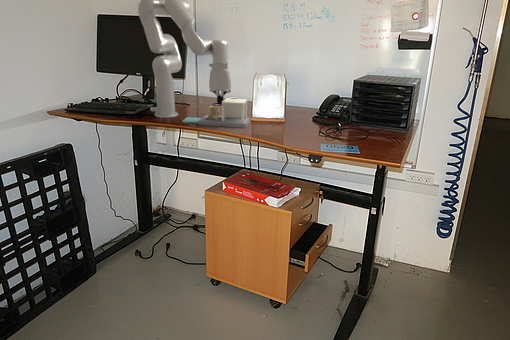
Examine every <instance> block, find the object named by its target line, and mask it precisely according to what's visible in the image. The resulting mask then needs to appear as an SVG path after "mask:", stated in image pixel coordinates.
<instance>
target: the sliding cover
mask: <svg viewBox="0 0 510 340" xmlns="http://www.w3.org/2000/svg"><path fill="white" fill-rule="evenodd" d="M221 116H222V121H224V116H226V117H230V118H242V123H244V118H246V119H247V117H248V99H246V98H228V97H227V98H225V99H224V100H223V101H222V104H221Z"/></svg>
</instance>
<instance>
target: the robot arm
mask: <svg viewBox="0 0 510 340" xmlns="http://www.w3.org/2000/svg"><path fill="white" fill-rule="evenodd" d="M137 7H138V8H137V12H138V17H139V19H140V21H141V25H142V26H143V30H144V34H145V37H146V41H147V44H148V46H149V49H150V51H151V52H152V53H154V54H163V55H158V56H156V57H155V58H153V61H152V64H151V65H152V72H153V74H154V80H155V93H156V94H155V95H156V106H155V107H154V106H150V109H149V110H150V111H151V112H154V117H156V118H163V119H165V118H175V117H177V116H179V113H178V112H177V111H176V107H175V106H176V104H175V103H176V102H175V83H174V79H173V76H172V74H174V73H178V72H180V71H181V70H182V66H183V62H182V58H181V54H180V51H179V50H180V49H179V46H178V44H177V43H178V42H177V41H176V40H175V38H174V37H173V36H172V35H171V34H169V33H163V30H162V27H161V24H160V21H159V20H158V18H157V17H156V15H158V16H160V15H161V16H170V18H171V20H173V22H174V23H175V24H176V26H177V27H178V28H179V29H180V30H181V35H182V38H183V41H184V43H185V44H186V45H187V47H188V48H189V49H190V51H191V52H192V53H194V54H195V55H197V56H210V55H211V61H212V62H211V63H209V65H208V66H209V67H210V68H211V69H210V72H209V81H208V82H209V83H208V85H209V86H208V88H209V92H210V93H213V94H214V95H216V96H215V97H216V102H217V105H221V106H222V101H223V100H225V99H224V96H225V95H226V94H230V93H231V92H232V91H231V90H232V89H231V85H232V84H231V83H232V82H231V75H230V74H231V73H230V69H229V68H228V67H229V65H228V62H229V60H228V59H229V57H228V56H229V55H228V52H229V51H228V50H229V49H228V46H229V45H228V41H227V40H225V39H211V38H201V37H200V36H199V35H198V34H197V33H196V31H195V30H194V27H195V24H196V18H195V17H194V16H193V15H192V14H191V5H190V2H189V1H188V0H140V1H139V3H138V6H137ZM220 91H221V92H220Z"/></svg>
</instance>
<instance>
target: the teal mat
mask: <svg viewBox="0 0 510 340" xmlns="http://www.w3.org/2000/svg"><path fill="white" fill-rule="evenodd" d="M202 118H203V117H191V116H186V118H184V119H183V120H182V121H181V124H182V123H185V124H198V125H199V120H200V119H202Z"/></svg>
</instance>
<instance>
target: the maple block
mask: <svg viewBox="0 0 510 340" xmlns="http://www.w3.org/2000/svg"><path fill="white" fill-rule="evenodd" d="M207 115H208V120H218V121H219V116H220V106H214V105H213V106H212V105H210V106H208V109H207Z"/></svg>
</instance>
